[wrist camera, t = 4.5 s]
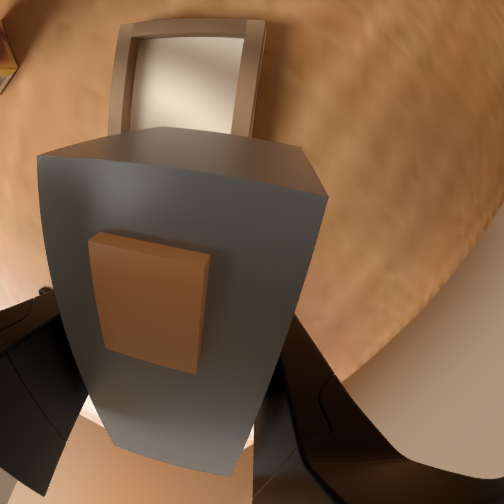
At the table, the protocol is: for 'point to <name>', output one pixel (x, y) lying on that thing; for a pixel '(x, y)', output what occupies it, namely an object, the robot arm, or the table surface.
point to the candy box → (5, 60)
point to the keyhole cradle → (187, 75)
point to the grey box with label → (178, 280)
